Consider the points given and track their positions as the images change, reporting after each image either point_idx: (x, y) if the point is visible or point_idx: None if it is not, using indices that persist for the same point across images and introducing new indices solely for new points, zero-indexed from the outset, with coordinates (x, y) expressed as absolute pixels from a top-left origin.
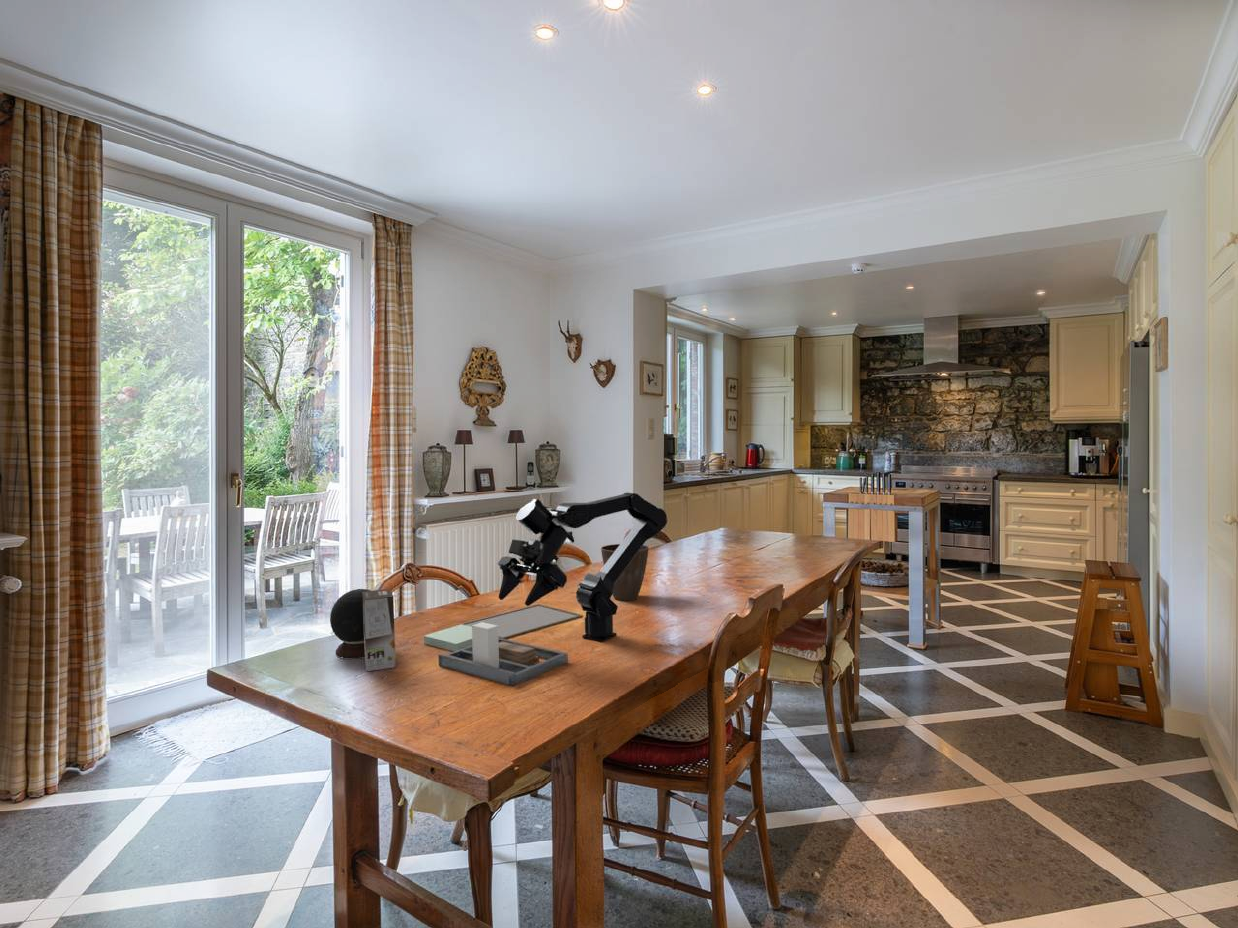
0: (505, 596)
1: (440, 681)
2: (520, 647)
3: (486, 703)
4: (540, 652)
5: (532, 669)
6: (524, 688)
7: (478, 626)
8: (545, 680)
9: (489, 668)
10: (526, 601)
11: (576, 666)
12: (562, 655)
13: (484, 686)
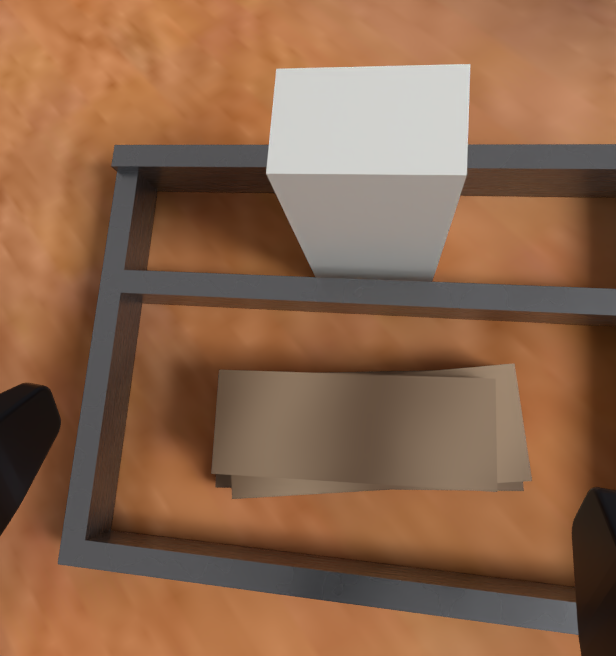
0: (580, 616)
1: (458, 47)
2: (298, 444)
3: (126, 8)
4: (246, 553)
5: (104, 281)
6: (85, 181)
7: (395, 74)
8: (56, 292)
9: (262, 145)
10: (10, 396)
11: (18, 514)
12: (65, 517)
13: (243, 111)
